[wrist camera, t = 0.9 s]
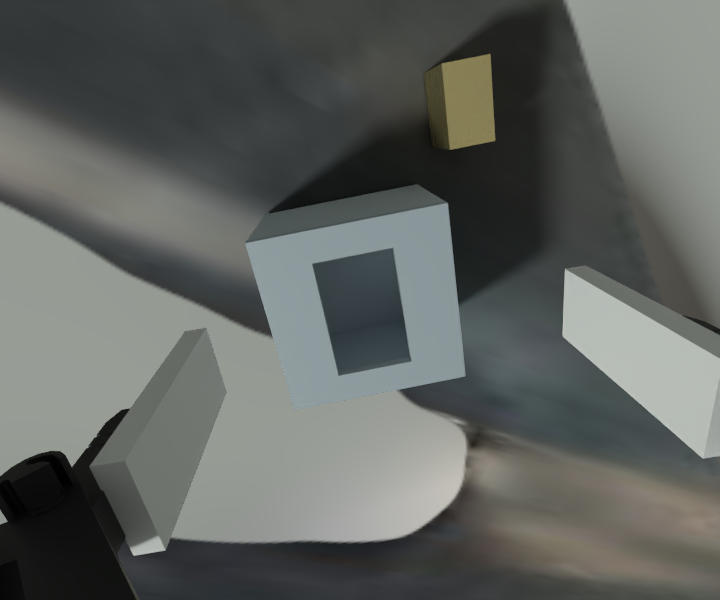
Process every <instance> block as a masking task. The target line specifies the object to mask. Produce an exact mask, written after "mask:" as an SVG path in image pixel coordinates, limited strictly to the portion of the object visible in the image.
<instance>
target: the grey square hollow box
mask: <svg viewBox="0 0 720 600" xmlns="http://www.w3.org/2000/svg"><path fill="white" fill-rule="evenodd" d="M245 244H246V248H247V251H248V254H249V258H250V261H251V264H252V268H253V271H254V275H255V278H256V281H257V285H258V288H259V292H260V295H261V298H262V302H263V305H264V309H265V312H266V315H267V319H268V322H269V325H270V329H271V332H272V336H273V339H274V342H275V346H276V349H277V352H278V356H279V359H280V362H281V366H282V369H283V373H284V376H285V380H286V383H287V386H288V390H289V393H290V397H291V400H292V403H293V407H294V409H295V410H298V409H303V408H308V407H313V406H318V405H323V404H328V403H333V402H338V401H343V400H348V399H354V398H358V397H363V396H368V395H374V394H379V393H384V392H389V391H393V390H399V389H404V388H409V387H414V386H419V385H424V384H429V383H434V382H439V381H444V380H449V379H454V378H459V377H464V376H465V366H464V357H463V347H462V337H461V327H460V317H459V308H458V298H457V288H456V278H455V269H454V259H453V249H452V239H451V229H450V220H449V210H448V203H447V202H445V201H444V200H442V199H440V198H439V197H437V196H436V195H434V194H432V193H431V192H429V191H427V190H426V189H424V188H422V187H421V186H419V185H418V184H416V185H411V186H405V187H400V188H395V189H390V190H385V191H380V192H375V193H370V194H365V195H360V196H355V197H350V198H345V199H340V200H335V201H330V202H325V203H320V204H315V205H310V206H305V207H300V208H295V209H290V210H285V211H280V212H275V213H270V214H265V216H264V217H263V219H262V220H261V221H260V223H259V224H258V226H257V227H256V229H255V230H254V231H253V233H252V234H251V236H250V237H249V239H248V240H247V241H246V243H245Z"/></svg>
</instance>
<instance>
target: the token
mask: <svg viewBox="0 0 720 600" xmlns="http://www.w3.org/2000/svg"><path fill="white" fill-rule="evenodd" d="M424 79H425V88H426V97H427V106H428V115H429V124H430V134H431V143H432V147H436V148H442V149H448V150H452V149H457V148H462V147H467V146H472V145H477V144H482V143H487V142H492V141H495V126H494V109H493V91H492V73H491V55H490V54H487V55H482V56H477V57H472V58H467V59H462V60H457V61H452V62H447V63H442V64H440V65H438V66H436V67H435V68H433V69H431V70H429V71H427V72H426V73H424Z"/></svg>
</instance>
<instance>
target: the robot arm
mask: <svg viewBox="0 0 720 600" xmlns="http://www.w3.org/2000/svg"><path fill="white" fill-rule="evenodd" d="M563 337H564V338H565V339H566V340H567V341H569V342H570V343H571V344H572V345H573V346H574V347H575V348H577V349H578V350H579V351H580V352H581V353H582V354H584V355H585V356H586V357H587V358H588V359H589V360H590V361H592V362H593V363H594V364H595V365H596V366H597V367H598V368H600V369H601V370H602V371H603V372H604V373H605V374H607V375H608V376H609V377H610V378H611V379H612V380H613V381H615V382H616V383H617V384H618V385H619V386H620V387H621V388H623V389H624V390H625V391H626V392H627V393H628V394H630V395H631V396H632V397H633V398H634V399H635V400H636V401H638V402H639V403H640V404H641V405H642V406H643V407H644V408H646V409H647V410H648V411H649V412H650V413H651V414H652V415H654V416H655V417H656V418H657V419H658V420H659V421H661V422H662V423H663V424H664V425H665V426H666V427H667V428H669V429H670V430H671V431H672V432H673V433H674V434H675V435H677V436H678V437H679V438H680V439H681V440H682V441H684V442H685V443H686V444H687V445H688V446H689V447H690V448H692V449H693V450H694V451H695V452H696V453H697V454H698V455H700V456H701V457H702V458H703V459H704V458H710V457H716V456H720V329H718V328H716V327H714V326H712V325H711V324H709V323H707V322H704V321H701V320H698V319H694V318H691V317H687V316H684V315H680V314H678V313H676V312H674V311H672V310H670V309H668V308H666V307H664V306H662V305H661V304H659V303H657V302H655V301H653V300H651V299H649V298H647V297H645V296H643V295H641V294H639V293H637V292H636V291H634V290H632V289H630V288H628V287H626V286H624V285H622V284H620V283H618V282H616V281H614V280H612V279H610V278H609V277H607V276H605V275H603V274H601V273H599V272H597V271H595V270H593V269H591V268H589V267H587V266H580V267H574V268H568V269H565V283H564V310H563ZM225 395H226V389H225V386H224V382H223V379H222V376H221V373H220V370H219V367H218V363H217V360H216V357H215V354H214V351H213V348H212V344H211V341H210V338H209V335H208V332H207V329H206V328H203V329H197V330H191V331H185V332H184V334H183V335H182V337H181V338H180V339H179V341H178V342H177V344H176V345H175V347H174V348H173V349H172V351H171V352H170V354H169V355H168V356H167V358H166V359H165V361H164V362H163V364H162V365H161V366H160V368H159V369H158V370H157V372H156V373H155V375H154V376H153V377H152V379H151V380H150V382H149V383H148V385H147V386H146V387H145V389H144V390H143V392H142V393H141V394H140V396H139V397H138V399H137V400H136V401H135V403H134V404H133V406H132V407H131V408H130V409H124V410H121V411H120V412H119V413H117V414H116V415H115V416H114V417H112V418H111V419H110V420H109V421H107V422H106V423H105V425H104V426H103V427H102V429H101V430H100V431H99V433H98V434H97V437H96V438H94V439H93V441H92V442H91V443H90V444H89V448H87V449H86V450H85V451H84V453H83V454H82V455H81V456H80V458H79V459H78V460H77V462H76V463H75V464H74V466H73V467H71V465H70V463H69V462H68V459H67V458H66V456H65V455H64V454H63V453H62V452H60V451H49V452H45V453H41V454H37V455H35V456H32V457H30V458H28V459H25V460H24V461H22V462H20V463H18V464H17V465H15V466H13V467H11V468H10V469H9V470H8V471H6V472H5V473H4V474H3V475H2V476H0V510H1V511H2V513H3V514H4V516H5V517H6V519H7V521H8V522H6V523H3V524H1V525H0V600H139V598H138V596H137V594H136V592H135V590H134V588H133V586H132V584H131V582H130V580H129V577H128V575H127V573H126V571H125V569H124V567H123V565H122V563H121V561H120V559H119V558H118V556H117V553H118V551H119V549H120V547H121V545H122V543H123V541H124V539H126V541H127V543H128V545H129V547H130V549H131V551H132V553H133V555H134V556H135V555H141V554H147V553H152V552H158V551H164V550H166V548H167V545H168V543H169V540H170V537H171V535H172V532H173V530H174V527H175V524H176V522H177V519H178V517H179V514H180V511H181V509H182V506H183V504H184V501H185V498H186V496H187V493H188V491H189V488H190V486H191V483H192V480H193V478H194V475H195V472H196V470H197V467H198V465H199V462H200V459H201V457H202V454H203V452H204V449H205V447H206V444H207V441H208V439H209V436H210V434H211V431H212V428H213V426H214V423H215V420H216V418H217V415H218V413H219V410H220V408H221V405H222V403H223V400H224V397H225Z"/></svg>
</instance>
